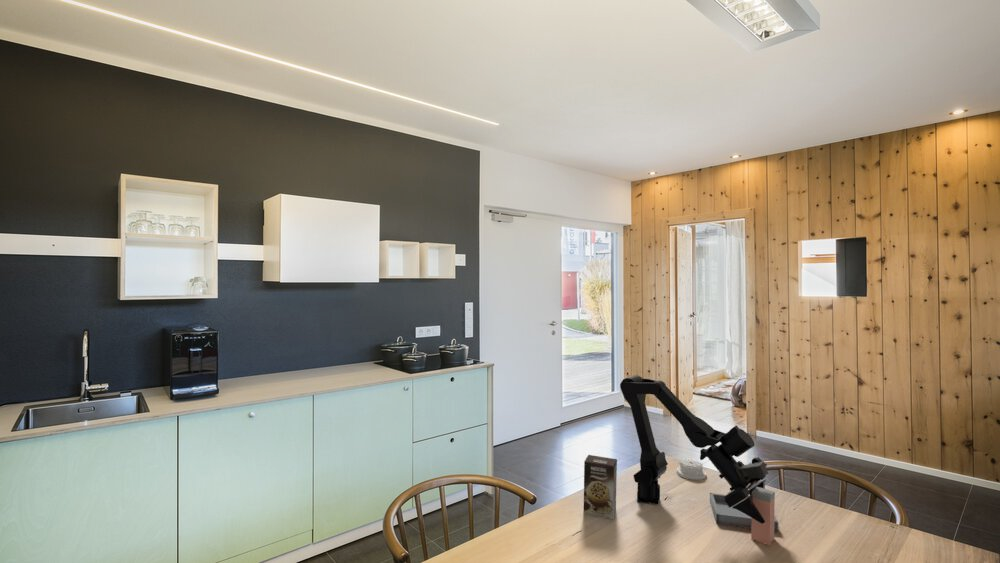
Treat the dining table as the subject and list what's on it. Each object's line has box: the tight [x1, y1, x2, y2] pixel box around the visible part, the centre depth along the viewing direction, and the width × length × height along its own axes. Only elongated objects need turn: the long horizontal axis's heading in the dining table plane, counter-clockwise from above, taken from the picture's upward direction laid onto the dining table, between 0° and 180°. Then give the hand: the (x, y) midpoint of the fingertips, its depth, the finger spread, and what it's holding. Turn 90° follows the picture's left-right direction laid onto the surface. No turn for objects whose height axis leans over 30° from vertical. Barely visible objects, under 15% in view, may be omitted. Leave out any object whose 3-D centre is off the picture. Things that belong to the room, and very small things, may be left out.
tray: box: [709, 492, 779, 533], centre depth 144 cm, size 16×14×3 cm
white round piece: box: [676, 458, 707, 481], centre depth 174 cm, size 10×4×10 cm
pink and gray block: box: [750, 487, 776, 546], centre depth 132 cm, size 4×4×13 cm
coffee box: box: [582, 454, 618, 521], centre depth 146 cm, size 9×6×16 cm
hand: (768, 516), depth 131 cm, fingers open, 9 cm apart
